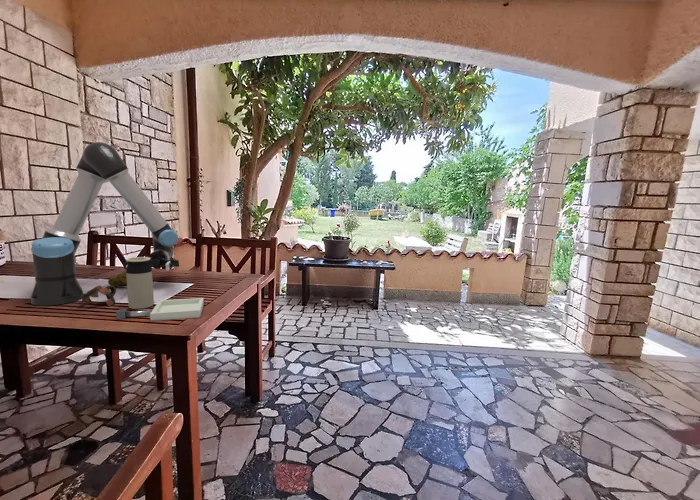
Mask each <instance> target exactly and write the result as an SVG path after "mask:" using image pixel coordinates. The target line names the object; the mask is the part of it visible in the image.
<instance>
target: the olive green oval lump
mask: <svg viewBox="0 0 700 500" xmlns="http://www.w3.org/2000/svg"><path fill="white" fill-rule="evenodd" d="M107 284H108V286H110V285H112V286H114V287H115V288H116V287H123V288H124V287H127V276H126V270H123V271H122V272H121V273H119V274H115V275H113V276H111V277H109V278H108V281H107Z"/></svg>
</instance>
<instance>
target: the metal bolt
mask: <svg viewBox="0 0 700 500" xmlns="http://www.w3.org/2000/svg"><path fill="white" fill-rule="evenodd" d="M151 312H152V310H150V309H145V310H144V309H143V310H131V311H128V309H127V308H120V309H118V310H116V320H125V319H128V318H139V317H140V318H142V317H150V313H151Z"/></svg>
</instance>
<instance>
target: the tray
mask: <svg viewBox="0 0 700 500" xmlns="http://www.w3.org/2000/svg"><path fill="white" fill-rule="evenodd" d="M204 301H205V300H204V297H196V298H195V297H194V298H179V299H178V298H177V299H161V300H158V302H157V303H156V304H155V306H154V308H153V309H152V310H151V313H150V316H149V317H150V322H155V321H167V320H180V319H181V320H182V319H194V318H201V316H202V312H203V308H204Z"/></svg>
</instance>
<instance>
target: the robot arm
mask: <svg viewBox="0 0 700 500" xmlns="http://www.w3.org/2000/svg"><path fill="white" fill-rule="evenodd" d="M75 169H76V171H77V174H78V175H77V177H76V178H75V181H74V182H73V185H72V187H71V189H70V191H69V193H68V195H67V198H66V199H65V202H64V203H63V206H62V207H61V209H60V211H59V214H58V216H57V218H56V220H55V222H54V224H53V226H52V227H51V228H48V229H45V232H44V234H43V235H42V238H38V239H36V240H34V241H32V243H31V248H30V250H31V254H32V260H33V261H32V262H33V271H34V281H35V282H34V287H33V289H32V293H31V295H30V303H31V305H33V306H40V307H42V306H43V307H45V306H57V305H58V306H59V305H64V304H69V303H73V302H74V303H75V302H77V301H79V300H82V299H81V298H80V296H81V295H83V294H84V290H83V288H82V286H81V285H80V283H79V281H78V279H77V273H76V271H77V270H76V259H75V254H76V252H77V250H78V248H79V246H80V243H81V242H82V239H81V237H80V233H81V231H82V230H83V229H82V228H83V227H84V224H85V222H86V220H87V218H88V216H89V214H90V212H91V210H92V208H93V205H94V203H95V201H96V200H97V197H98V195H99V193H100V192H101V191H100V190H101V189H102V186H103V184H105V183H110V184H111V185H112V186H113V187H114V189H115V190H116V191H117V192H118V193H119V195H120V197H122V199H123V200H124V201H125V202H126V203H127V205H128V206H129V207H130V208H131V210H132V211H133V212H134V214H136V216H137V217H138V219H140V220H141V222H142V223H143V224H144V225H145V226H146V228H147V229H148V230H149V232H150V233H151V234H152V252H151V253H150V254H149V255H148V256H147V257H149V258H151V259H150V262H149V263H150V265H151V266H152V269H161V268H163V267H165V271H166V272H168V271H169V270H170V269H171V268H176V267H177V268H179V267H180V260H178V259H176V258H174V252H173V251H174V250H172V247H173V246H175V245H176V244H177V243H178V242H179V235H178V233H177V232H176V231H175V230H173V229H172V227H171V226H170V223H169V222H167V221H166V220H165V218H164V217H163V215H162V214H161V213H160V211H159V210H158V209H157V208H156V206H155V205H154V203H152V202H151V200H150V199H149V197H148V196H147V195H146V194H145V192H144V191H143V190H142V188H141V187H140V186H139V185H138V183H137V182H136V180H135V179H134V178H133V177H132V175H131V174H130V173H129V169H130V168H129V167H128V166H127V165H126V164H125V162H124V160H123V159H122V158H121V156H120V154H119V152H118V151H117V150H116V149H115V148H114V147H113V146H111V145H110V144H108V143H105V142H101V141H98V142H96V141H95V142H91V143H90V144H88V145H87V146H86V147H85V148H84V150H83V152H82V155H81V157H80V160H79V161H78V163H77V165H76V168H75ZM122 266H123V269H124V270H126V267H127V266H128V262H127V261H125V262H123V265H122Z"/></svg>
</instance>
